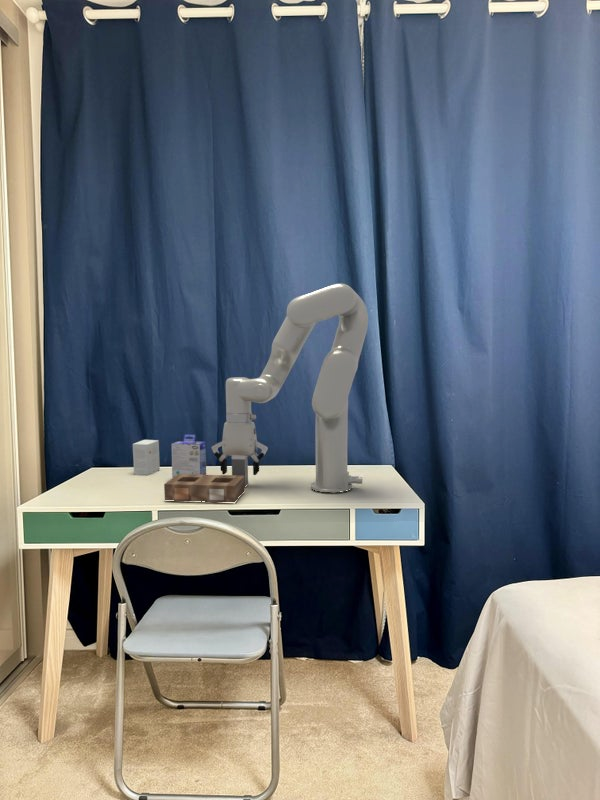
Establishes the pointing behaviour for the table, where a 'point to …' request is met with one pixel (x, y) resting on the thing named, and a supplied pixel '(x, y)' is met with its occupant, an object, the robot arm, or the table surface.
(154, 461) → the small box
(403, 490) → the table surface
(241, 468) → the plug
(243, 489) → the socket block
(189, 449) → the ink cartridge box
